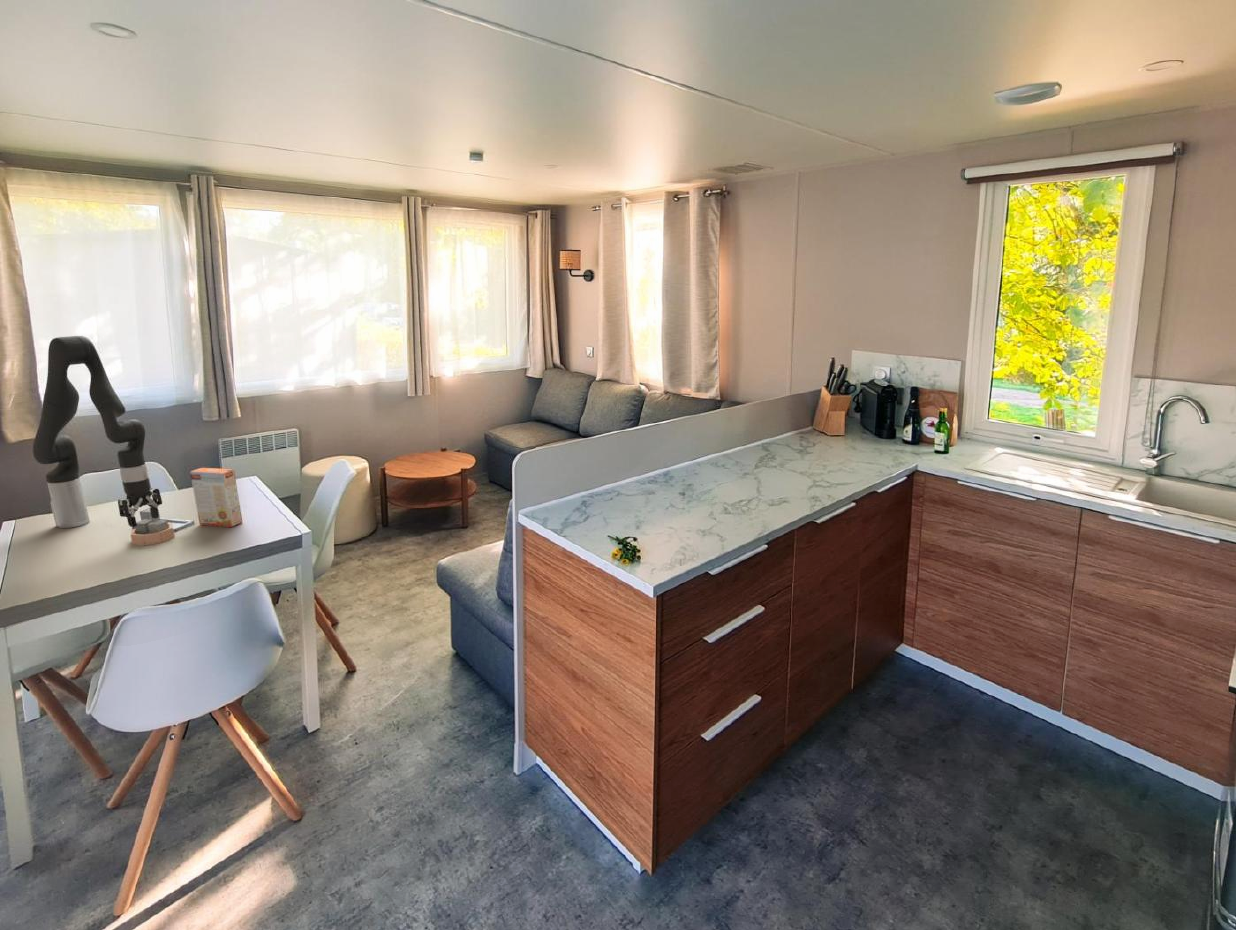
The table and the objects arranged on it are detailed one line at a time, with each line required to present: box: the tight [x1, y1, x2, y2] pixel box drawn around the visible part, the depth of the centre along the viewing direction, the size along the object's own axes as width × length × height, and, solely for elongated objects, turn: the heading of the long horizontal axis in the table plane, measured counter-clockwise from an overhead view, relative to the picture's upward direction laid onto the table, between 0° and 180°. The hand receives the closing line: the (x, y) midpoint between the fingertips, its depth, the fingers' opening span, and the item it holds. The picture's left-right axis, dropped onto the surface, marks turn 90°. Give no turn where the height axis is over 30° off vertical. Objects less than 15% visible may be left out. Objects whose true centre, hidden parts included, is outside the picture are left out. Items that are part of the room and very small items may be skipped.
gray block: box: [139, 507, 161, 521], centre depth 241 cm, size 4×4×6 cm
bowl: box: [130, 523, 175, 546], centre depth 229 cm, size 12×12×4 cm
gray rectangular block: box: [135, 519, 154, 535], centre depth 229 cm, size 4×4×6 cm
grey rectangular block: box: [148, 520, 168, 534], centre depth 228 cm, size 4×4×6 cm
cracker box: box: [189, 467, 243, 528], centre depth 241 cm, size 14×6×21 cm, turn 78°
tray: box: [131, 517, 195, 533], centre depth 241 cm, size 18×9×1 cm, turn 78°
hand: (144, 522), depth 229 cm, fingers open, 8 cm apart
